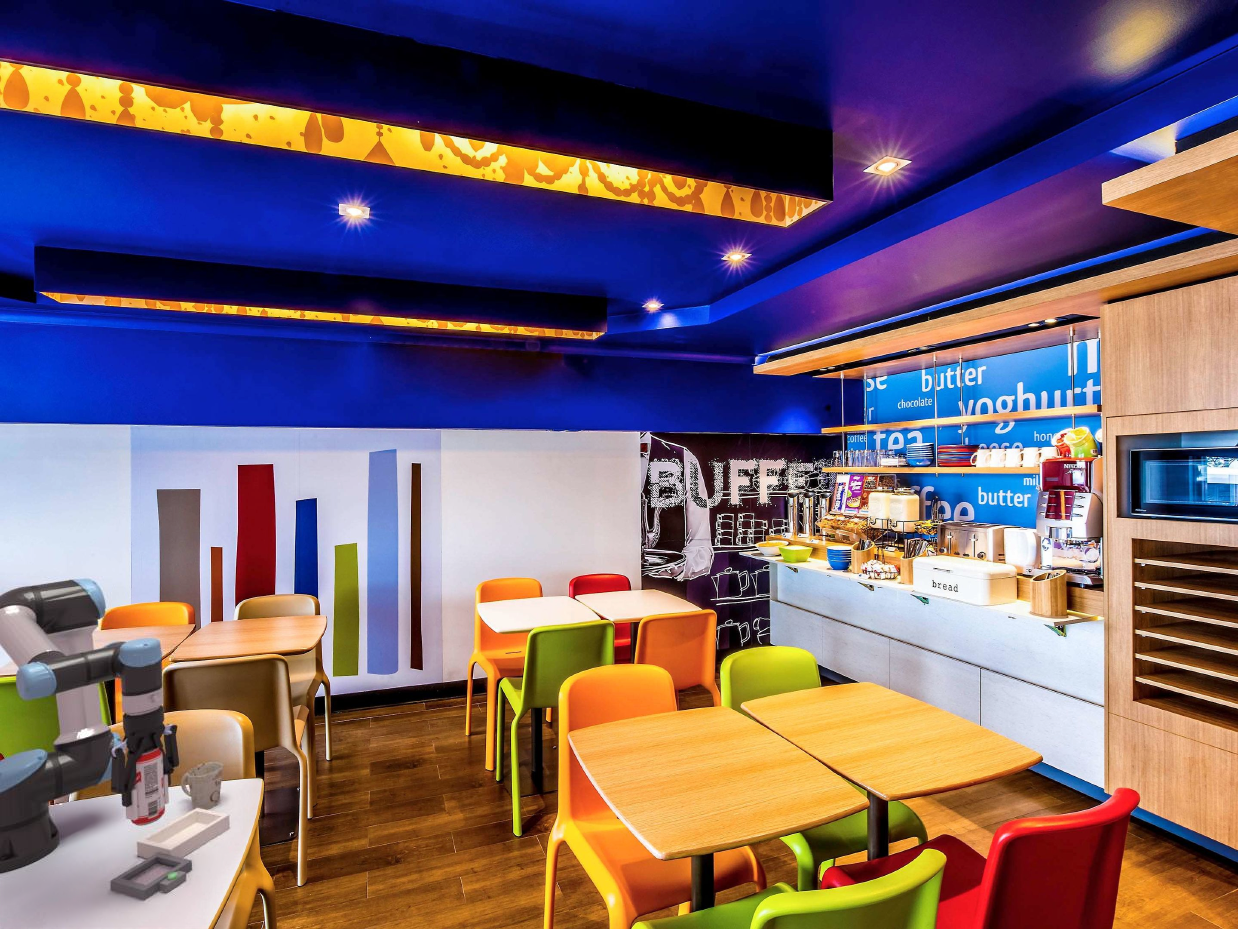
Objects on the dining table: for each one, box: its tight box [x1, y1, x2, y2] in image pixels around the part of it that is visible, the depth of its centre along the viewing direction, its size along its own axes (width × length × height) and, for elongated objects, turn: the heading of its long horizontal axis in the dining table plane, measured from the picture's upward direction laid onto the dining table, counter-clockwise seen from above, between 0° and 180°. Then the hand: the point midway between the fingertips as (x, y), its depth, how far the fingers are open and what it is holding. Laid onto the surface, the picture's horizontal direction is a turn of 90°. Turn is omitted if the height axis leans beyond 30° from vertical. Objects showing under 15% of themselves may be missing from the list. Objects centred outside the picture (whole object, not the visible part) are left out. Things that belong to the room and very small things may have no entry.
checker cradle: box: [109, 852, 193, 901], centre depth 147 cm, size 13×11×2 cm
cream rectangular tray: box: [136, 808, 231, 859], centre depth 162 cm, size 11×15×4 cm
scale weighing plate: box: [130, 863, 173, 885], centre depth 147 cm, size 7×7×1 cm
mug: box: [180, 761, 224, 810], centre depth 179 cm, size 8×13×10 cm, turn 78°
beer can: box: [130, 747, 166, 827], centre depth 147 cm, size 6×6×16 cm
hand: (147, 810), depth 147 cm, fingers closed on beer can, 6 cm apart
